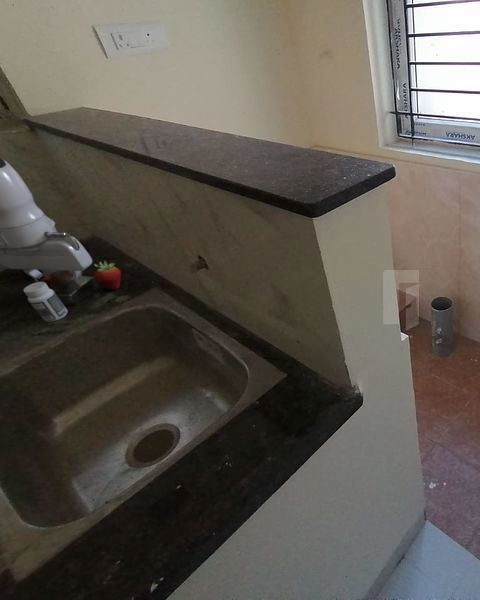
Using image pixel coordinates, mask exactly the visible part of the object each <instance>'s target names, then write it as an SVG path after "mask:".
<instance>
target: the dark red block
mask: <svg viewBox="0 0 480 600" xmlns="http://www.w3.org/2000/svg"><path fill="white" fill-rule="evenodd" d="M71 278H73V273H72V274H71V273H70V272H69V271H66V270H56V271H55V272H53V273H52V274H51V275H49V276H48V277H47V276H46V277H45V278H43V282H44V283H46V285H47V286H48V287H49V289H52V290H53V291H54V292H58V291H59V290H60V289H62V288H63V287H64V286H66V285H67V284H68V283H70V282H71Z"/></svg>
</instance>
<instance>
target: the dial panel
mask: <svg viewBox="0 0 480 600" xmlns="http://www.w3.org/2000/svg"><path fill="white" fill-rule="evenodd" d="M82 277H83V279H84V282H83V283H82V284H81V285H78V284H73V282H72V281H71V282H70V283H68V284H67V285H66V286H64V287H63V288H62V289H60V290H59V291H58V292H55V294H56V295H57V297H58V298H59V299H60V301H61V302H62V303H63V305H64V306H78V305H79V304H80V303H81V302H82V301H84V300H85V299H86V298H87V297H89V296H90V295H91V294H93V292H95V291H96V290H97V289H98V288H99V287H100V283H99V282H98V281H97V280H96V279H95V276H82Z"/></svg>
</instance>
